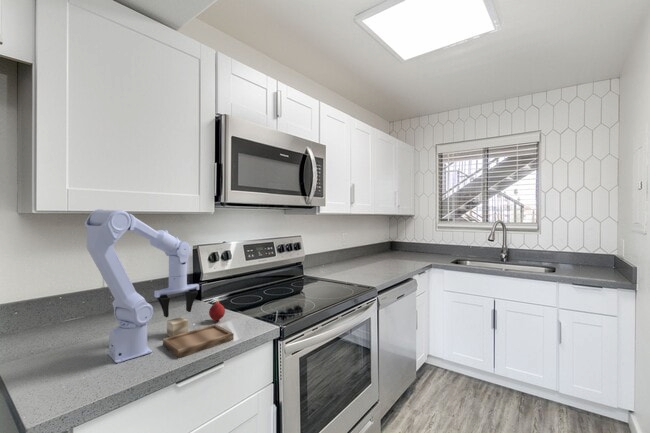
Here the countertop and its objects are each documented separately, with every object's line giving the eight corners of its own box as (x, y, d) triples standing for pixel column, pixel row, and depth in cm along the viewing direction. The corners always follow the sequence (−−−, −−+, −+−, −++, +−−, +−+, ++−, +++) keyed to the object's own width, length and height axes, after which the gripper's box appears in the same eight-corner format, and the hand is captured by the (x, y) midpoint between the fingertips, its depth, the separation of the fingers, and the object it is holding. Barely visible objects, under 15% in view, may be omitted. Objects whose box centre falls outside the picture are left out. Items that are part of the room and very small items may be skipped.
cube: (172, 338, 104) (173, 324, 104) (166, 334, 107) (167, 320, 107) (187, 334, 108) (187, 320, 108) (181, 330, 111) (181, 316, 111)
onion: (219, 324, 117) (219, 303, 117) (206, 323, 119) (206, 302, 118) (227, 319, 123) (227, 299, 123) (214, 318, 124) (214, 298, 124)
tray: (178, 358, 90) (179, 350, 90) (162, 345, 98) (162, 338, 98) (233, 339, 104) (233, 333, 104) (215, 330, 112) (215, 324, 112)
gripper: (193, 270, 115) (192, 306, 116) (150, 276, 105) (150, 316, 105) (202, 273, 111) (201, 310, 111) (158, 279, 100) (158, 321, 100)
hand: (177, 313), depth 108 cm, fingers open, 7 cm apart
